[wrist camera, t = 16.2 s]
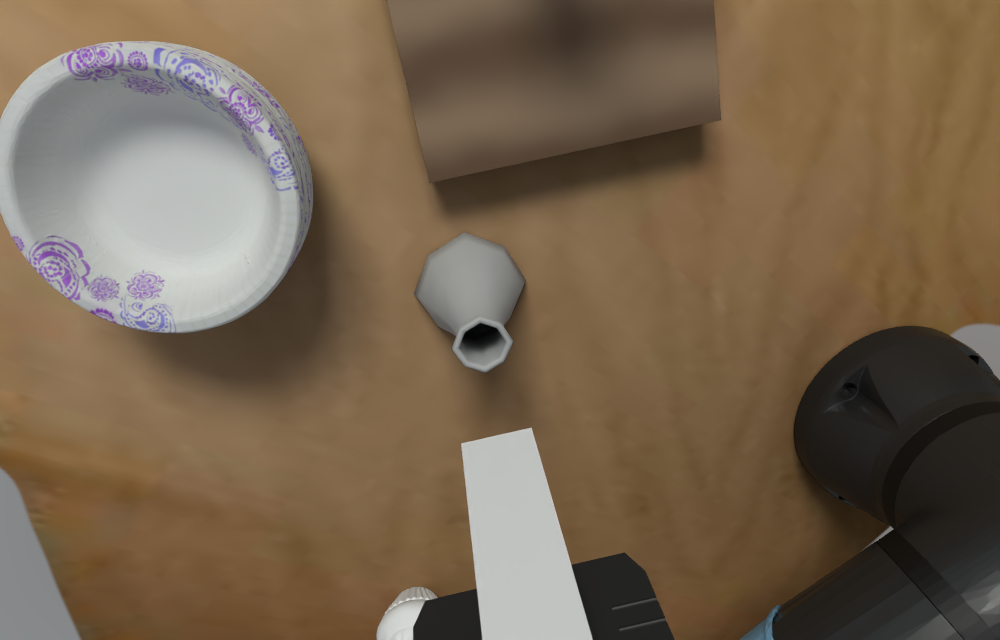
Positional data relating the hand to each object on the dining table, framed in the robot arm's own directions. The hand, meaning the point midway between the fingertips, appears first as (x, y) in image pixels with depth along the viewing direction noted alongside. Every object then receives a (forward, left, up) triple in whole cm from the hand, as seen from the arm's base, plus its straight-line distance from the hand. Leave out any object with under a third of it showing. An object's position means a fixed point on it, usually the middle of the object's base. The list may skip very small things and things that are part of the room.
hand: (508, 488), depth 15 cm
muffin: (-33, +10, -33) cm, 47 cm away
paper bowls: (+4, +15, -33) cm, 36 cm away
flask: (-7, 0, -33) cm, 33 cm away
